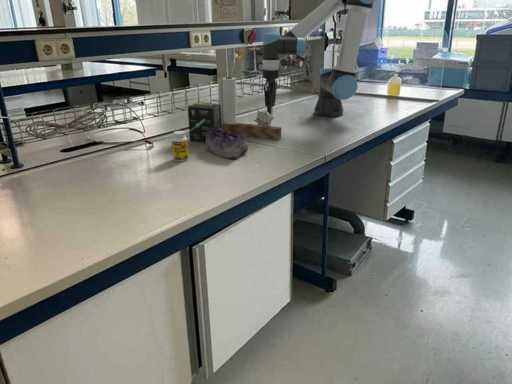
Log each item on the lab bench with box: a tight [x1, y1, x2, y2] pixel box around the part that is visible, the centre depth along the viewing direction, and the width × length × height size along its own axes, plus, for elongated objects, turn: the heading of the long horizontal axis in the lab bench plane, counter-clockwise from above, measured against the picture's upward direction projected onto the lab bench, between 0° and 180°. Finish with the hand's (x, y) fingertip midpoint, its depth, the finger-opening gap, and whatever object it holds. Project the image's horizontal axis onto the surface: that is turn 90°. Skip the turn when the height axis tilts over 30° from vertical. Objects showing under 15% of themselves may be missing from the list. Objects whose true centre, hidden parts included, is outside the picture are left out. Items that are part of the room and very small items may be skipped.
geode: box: [205, 126, 249, 160], centre depth 159 cm, size 20×12×10 cm, turn 47°
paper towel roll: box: [217, 76, 237, 123], centre depth 196 cm, size 7×6×21 cm
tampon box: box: [187, 102, 222, 144], centre depth 173 cm, size 11×9×15 cm
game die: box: [253, 109, 275, 126], centre depth 192 cm, size 9×8×10 cm
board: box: [222, 122, 282, 142], centre depth 179 cm, size 26×3×5 cm, turn 69°
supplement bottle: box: [171, 130, 189, 163], centre depth 151 cm, size 6×6×10 cm
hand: (269, 119), depth 201 cm, fingers closed
